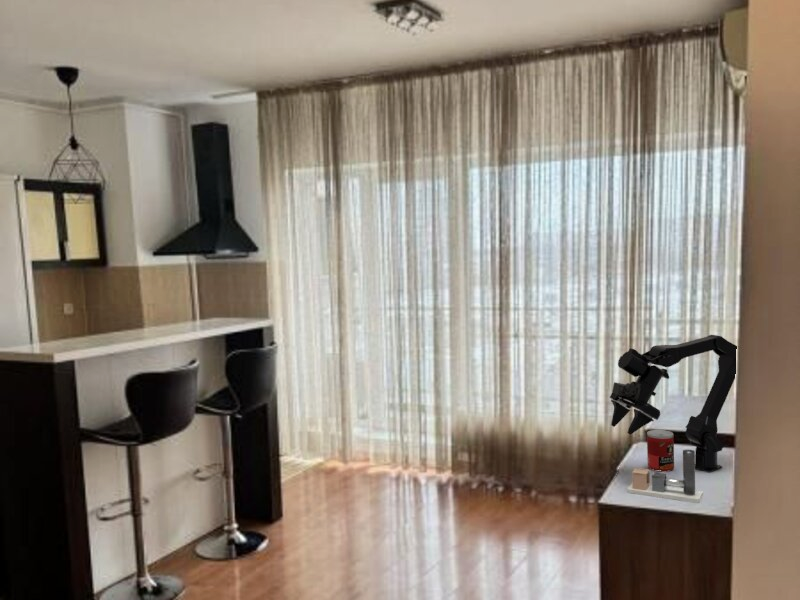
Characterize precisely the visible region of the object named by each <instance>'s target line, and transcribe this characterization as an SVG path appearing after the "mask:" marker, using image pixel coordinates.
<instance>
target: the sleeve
mask: <svg viewBox="0 0 800 600" xmlns="http://www.w3.org/2000/svg"><path fill="white" fill-rule="evenodd" d="M667 476H668V475H667V473H663V472H654V473H653V474H652V475H651V484H652V491H658V492H665V490H666V489H667V487H668V486H666V485H664V478H668V477H667Z"/></svg>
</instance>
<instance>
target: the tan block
mask: <svg viewBox="0 0 800 600" xmlns="http://www.w3.org/2000/svg"><path fill="white" fill-rule="evenodd" d="M650 470H651V469H650V468H649V469H647V468H641V467H640V468H639V467H635V468H634V469H633V471H632V472H631V475H632V477H631V478H632V479H631V480H632V482H631V484H632V487H633V489H640V490H647V489H648V487H649V486H650V484H651V483H650V482H651V481H650V480H651V477H650V475H651V471H650Z"/></svg>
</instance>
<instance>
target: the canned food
mask: <svg viewBox="0 0 800 600" xmlns="http://www.w3.org/2000/svg"><path fill="white" fill-rule="evenodd" d="M674 436H675V435H674V433H673V432H672V431H669V430H664V429H652V430H648V431H647V432H646V445H647V446H646V448H647V466H648V468H649V469H650V468H651V469H650V470H652V469H654V470H653V471H655V470H661V471H660V472H662V471H666V472H669V471H668V470H671V471H672V469H673V470H674V468H675V447H674V446H675V439H674Z"/></svg>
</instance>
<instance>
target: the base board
mask: <svg viewBox="0 0 800 600" xmlns="http://www.w3.org/2000/svg"><path fill="white" fill-rule="evenodd" d="M626 492H627V493H629V494H636V495H642V496H648V497H656V498H662V497H663V499H670V500H675V501H676V500H677V501H683V502H690V503H697V504H699V503H700V502H701V500H702V498H703V496H704V491H702V490H701V491H700V490H695V493H694V494H687V493H684V489H683V488H681V487H673V486H667V489H666V490H665V492H658V491H652V483H650V486H649V487H648V489H647V490H640V489H633V487H632V483H631V484H630V485H629V486H628V487H627V489H626Z"/></svg>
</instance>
